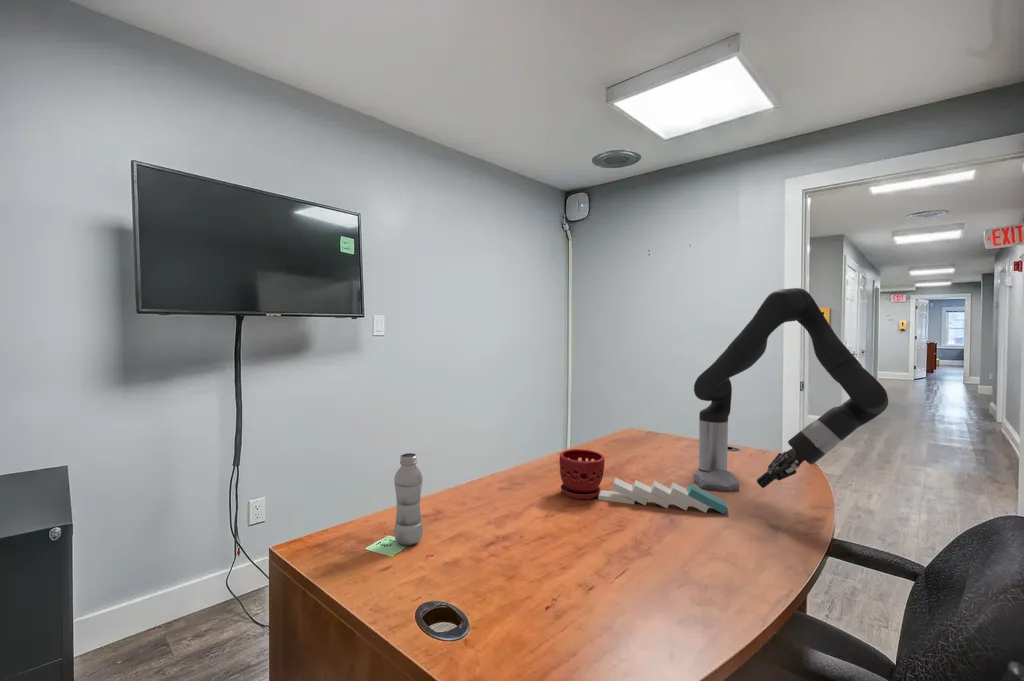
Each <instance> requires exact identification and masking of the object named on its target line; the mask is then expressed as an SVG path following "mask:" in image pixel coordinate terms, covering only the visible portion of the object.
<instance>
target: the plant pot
mask: <svg viewBox="0 0 1024 681" xmlns="http://www.w3.org/2000/svg"><path fill="white" fill-rule="evenodd" d="M579 458H580V459H581V460H579ZM605 458H606V457H605V456H604V455H603V454H602V453H600V452H598V451H594V450H588V449H582V448H581V449H580V448H579V449H578V448H576V449H575V448H573V449H572V448H571V449H567V450H564V451H561V452H560V453H559V474H560V479H561V482H562V484H561V485H560V490H561V492H562V493H563V494H564V495H565V496H567V497H569V498H572V499H578V500H590V499H595V498H596V497H598V495H599V493H600V491H601V490H602V489H601V487H600V486H601V483H602V481H603V477H604V472H605ZM586 459H587V460H586Z"/></svg>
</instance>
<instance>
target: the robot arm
mask: <svg viewBox="0 0 1024 681" xmlns="http://www.w3.org/2000/svg"><path fill="white" fill-rule="evenodd" d="M795 321H797V323H798V324H800V325H801V326H802V327H803V328H804V329H805V330H806V332H808V335H809V337H810V339H811V343H812V347H813V351H814V355H815V356H816V359H817V360H818V362H819V364H820V365H821V366H822V367H823V368H824V369H825V371H826V372H827V373H828V375H829V376H831V378H832V379H833V380H834V381H835V382H836V383H838V384H839V385H840V386H841V388H843V390H844V391H845V393H846V394H847V395H848V396H849V398H848V399H847V400H846V401H844V402H843V403H842V404H840V405H839V406H834V407H831V408H830V409H828V410H827V411H826V412H824V413H823V414H822V415H821V416H819V417H818V418H817V419H816V420H814V421H813V422H810V423H809V424H808V425H806V426H805V427H804V428H802V430H800V431H799V432H797V433H796V434H795V435H794V436H792V437H791V438H790V439H788V441H787V444H788V445H789V446H790V448H791V449H788V450H786V451H783V452H782V453H781V452H779V453H778V454H777V455H776V456H775V458H774V459H773V460H772V461H771V463H770V464H769V465H768V467H767V469H766V472H764V473H763V474H762V475H761V476H759V477H758V478H757V479H756V483H757V485H759V486H760V487H761V488H762V489H765V488H766V487H768V485H770V484H771V483H772V482H774V481H781V480H784V479H786V478H788V477H791V476H793V475H795V474H796V473H797V470H798V469H799V468H800V466H801V465H802V463H803V462H805V461H806V463H808V464H809V465H811V466H812V465H815V463H817V462H818V461H819V460H821V459H822V458H823V457H825V455H827V454H829V453H830V452H831V451H832V450H834V449H836V448H835V447H837V446H838V444H840V443H841V442H842V441H844V440H845V439H846V438H847V437H848V436H850V435H851V434H852V433H853V432H854V431H856V430H857V429H858V428H860V427H862V426H863V425H865V424H867V423H870V421H872V420H873V419H875V418H877V417H878V416H880V415H881V414H882V413H883V412H884V411H886V409H887V407H888V406H889V396H888V393H887V391H886V389H885V387H884V386H883V385H882V384H881V383H880V382H879V381H878V380H877V379H876V378H875V377H874V375H872V374H871V373H870V372H869V371H868V370H867V369H865V367H863V365H862V364H861V362H860V361H859V360H858V359H857V358H856V357H855V356H854V354H853V353H852V352H851V351H850V350H849V348H847V347H846V345H845V344H843V342H842V341H841V339H840V338H839V337H838V336H837V334H836V333H835V331H834V330H833V328H832V326H831V325H830V324H829V322H828V319H826V317H825V315H824V314H823V312H822V310H821V309H820V307H819V305H818V304H817V303H816V301H815V299H814V298H813V296H812V295H811V294H810V293H809V292H808V290H805V289H803V288H801V287H794V288H793V287H792V288H784V289H783V288H782V289H781V288H780V289H777V290H774V291H772V292H771V293H770V294H768V295H767V297H766V298H765V299H764V301H763V302H762V304H761V305H760V307H759V308H758V309H757V311H756V313H754V316H752V318H751V319H750V321H749V322H748V323H747V324H746V325H745V327H743V329H742V330H741V331H740V333H738V335H737V336H736V337H734V339H733V340H732V341H731V342H730V343H729V345H728V346H727V348H726V349H725V350H724V351H723V352H722V353H721V354H720V355H719V356H718V358H716V360H715V361H714V362H713V363H712V364H711V365H710V366H708V368H706V369H705V370H704V371H703V372H702V373H701V374H699V376H697V378H696V380H695V382H694V385H693V391H694V396H696V398H697V399H698V400H701V401H703V402H704V401H705V402H711V403H710V404H709V405H708V406H707V407H705V408H704V409H702V410H700V411H699V416H698V417H699V418H698V420H699V424H698V469H699V470H700V471H702V472H707V473H709V472H713V471H720V470H726V471H728V445H729V444H728V440H729V438H728V437H729V434H728V433H729V416H730V414H731V409H732V408H731V407H732V406H731V405H732V396H733V395H732V393H733V389H732V388H733V387H732V382H731V379H730V378H732V377H734V376H736V375H738V374H741V373H743V372H745V371H746V370H749V368H751V367H752V366H753V365H754V364H756V362H757V361H758V360H760V358H761V357H762V356H763V355H764V354H765V352H766V350H767V345H768V339H769V337H770V335H771V334H772V333H774V331H775V330H776V329H777V328H778V327H780V326H781V325H782V324H784V323H790V322H795Z"/></svg>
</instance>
